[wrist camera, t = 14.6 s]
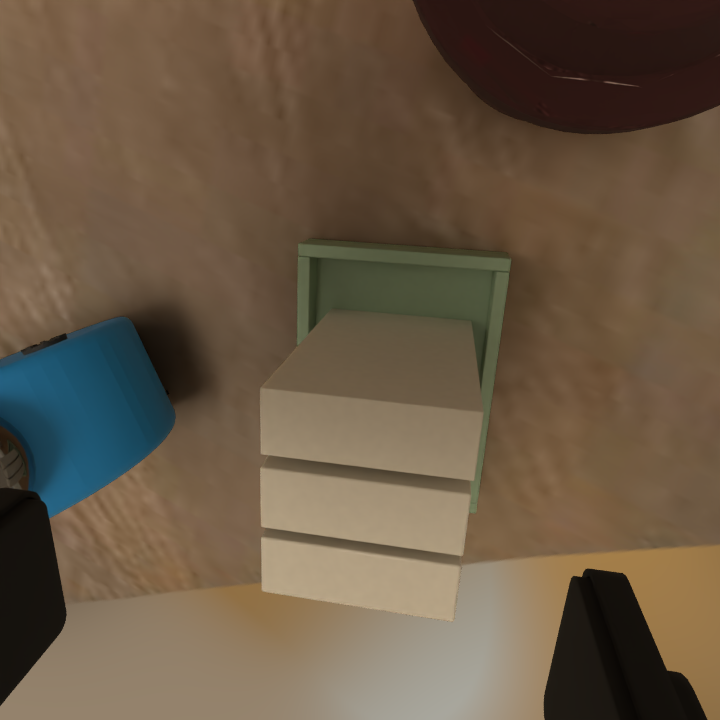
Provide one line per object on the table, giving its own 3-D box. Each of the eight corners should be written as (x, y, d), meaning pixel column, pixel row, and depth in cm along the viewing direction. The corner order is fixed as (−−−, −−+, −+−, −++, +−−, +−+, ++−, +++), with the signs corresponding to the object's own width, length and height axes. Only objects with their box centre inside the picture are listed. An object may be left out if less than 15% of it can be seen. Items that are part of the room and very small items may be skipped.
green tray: (308, 238, 27) (297, 243, 25) (507, 252, 26) (511, 258, 24) (304, 469, 32) (294, 489, 30) (474, 491, 30) (476, 514, 28)
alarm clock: (40, 446, 34) (-249, 637, 20) (-10, 357, 32) (-361, 496, 18) (221, 392, 31) (27, 575, 17) (174, 290, 29) (-82, 396, 15)
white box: (331, 308, 28) (259, 387, 17) (471, 320, 27) (484, 412, 16) (329, 353, 28) (260, 454, 18) (465, 366, 27) (474, 481, 17)
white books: (329, 361, 28) (259, 467, 18) (464, 375, 28) (471, 494, 17) (326, 450, 30) (261, 592, 20) (453, 465, 29) (454, 623, 19)
